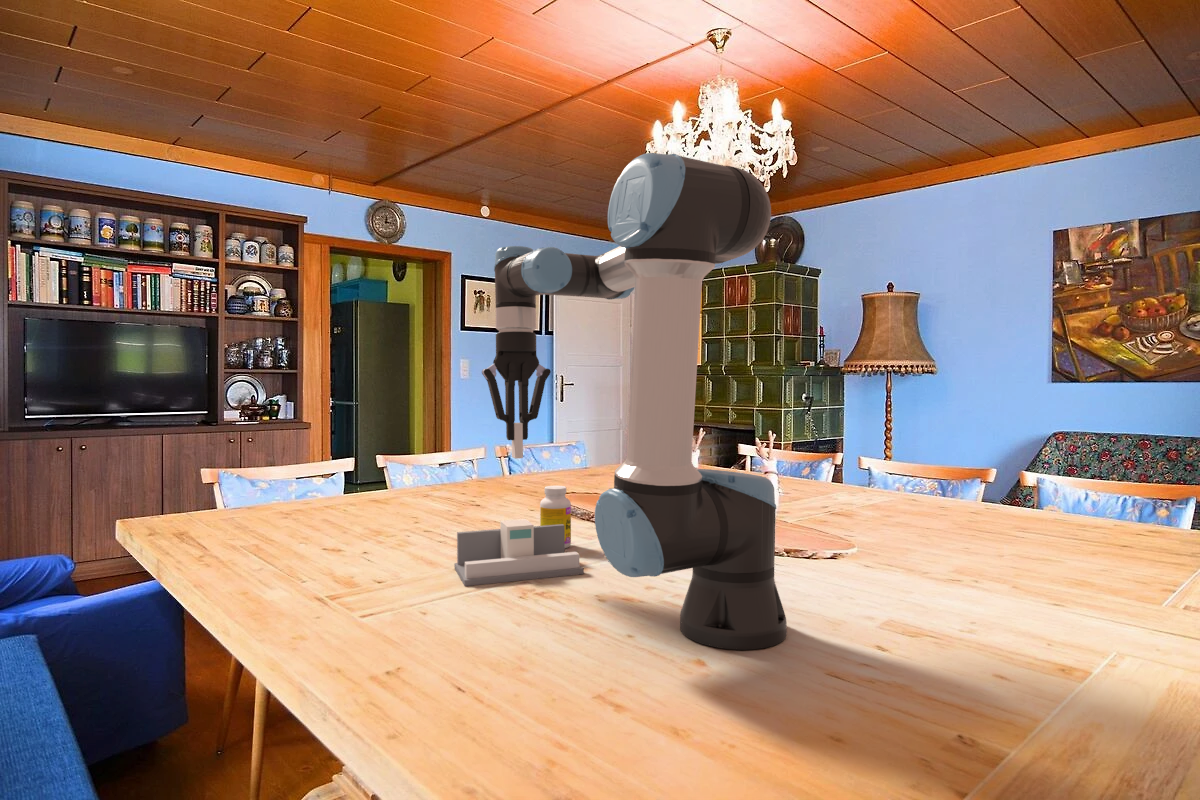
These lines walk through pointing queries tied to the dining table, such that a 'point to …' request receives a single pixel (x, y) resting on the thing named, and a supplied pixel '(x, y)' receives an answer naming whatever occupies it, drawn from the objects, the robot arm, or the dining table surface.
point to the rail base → (493, 551)
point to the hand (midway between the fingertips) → (517, 457)
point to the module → (517, 538)
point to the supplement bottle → (556, 510)
